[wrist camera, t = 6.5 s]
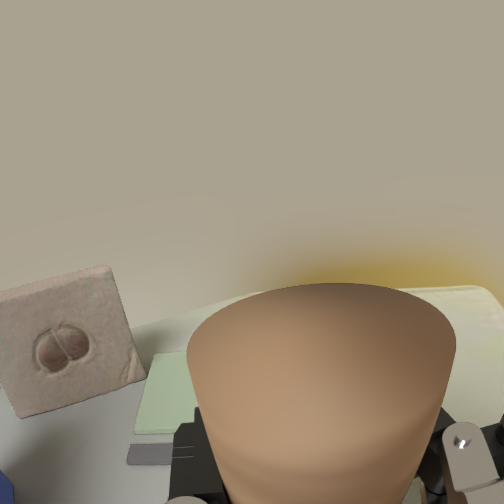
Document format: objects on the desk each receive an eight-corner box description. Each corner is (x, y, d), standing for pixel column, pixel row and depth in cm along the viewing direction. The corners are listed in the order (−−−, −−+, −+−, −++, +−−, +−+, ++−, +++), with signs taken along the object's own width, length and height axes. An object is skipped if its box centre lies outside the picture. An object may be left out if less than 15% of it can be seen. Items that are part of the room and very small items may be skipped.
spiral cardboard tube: (261, 599, 5) (177, 457, 3) (244, 510, 10) (192, 301, 8) (390, 563, 6) (510, 353, 3) (351, 485, 11) (374, 271, 9)
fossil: (19, 422, 15) (-33, 308, 13) (18, 399, 18) (-24, 295, 16) (148, 379, 22) (118, 266, 20) (135, 362, 25) (108, 259, 23)
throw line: (128, 464, 13) (126, 461, 13) (132, 447, 15) (130, 444, 15) (424, 407, 15) (425, 403, 15) (413, 394, 17) (413, 391, 17)
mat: (135, 434, 16) (133, 429, 16) (155, 357, 26) (154, 353, 26) (404, 384, 18) (405, 380, 18) (349, 326, 28) (349, 322, 27)
